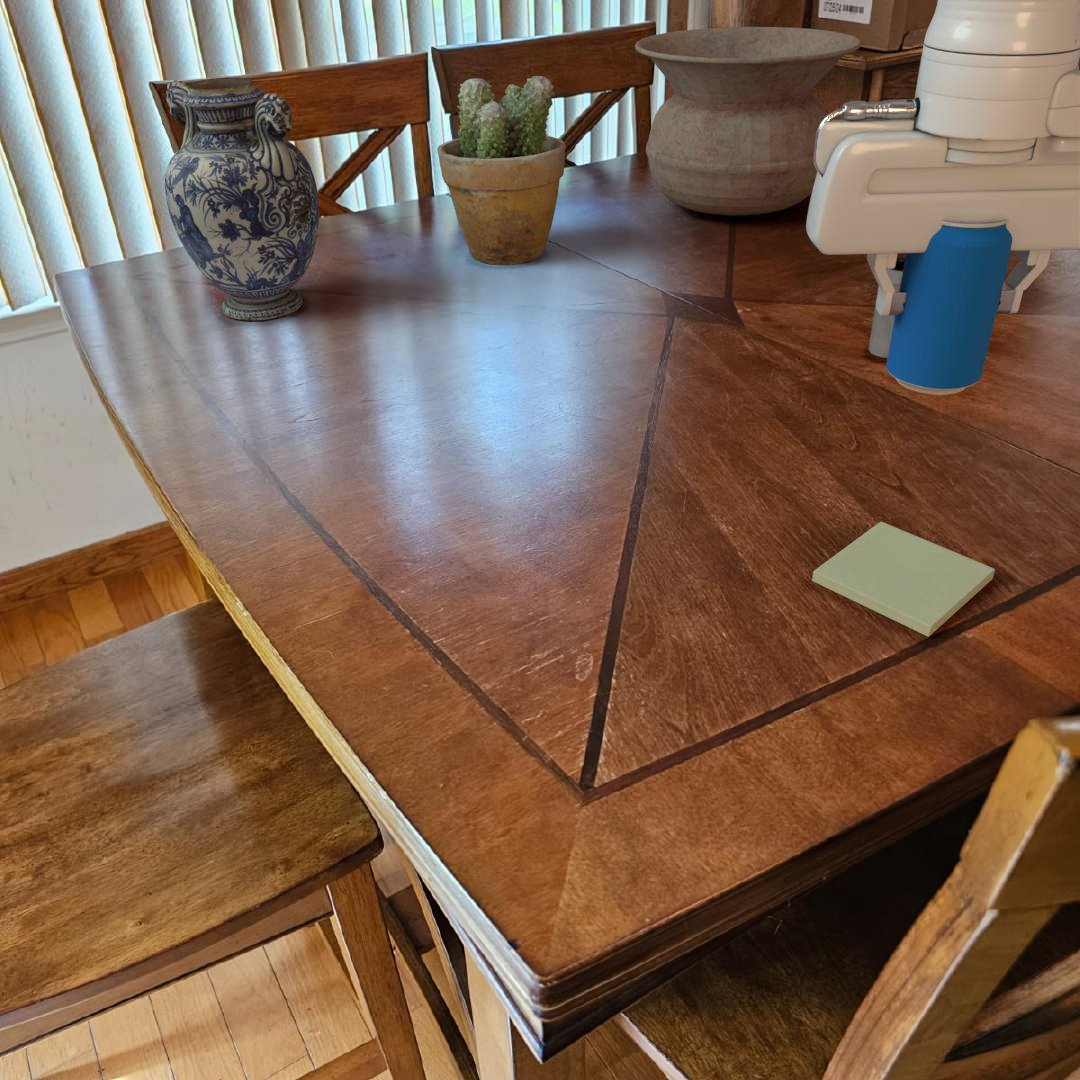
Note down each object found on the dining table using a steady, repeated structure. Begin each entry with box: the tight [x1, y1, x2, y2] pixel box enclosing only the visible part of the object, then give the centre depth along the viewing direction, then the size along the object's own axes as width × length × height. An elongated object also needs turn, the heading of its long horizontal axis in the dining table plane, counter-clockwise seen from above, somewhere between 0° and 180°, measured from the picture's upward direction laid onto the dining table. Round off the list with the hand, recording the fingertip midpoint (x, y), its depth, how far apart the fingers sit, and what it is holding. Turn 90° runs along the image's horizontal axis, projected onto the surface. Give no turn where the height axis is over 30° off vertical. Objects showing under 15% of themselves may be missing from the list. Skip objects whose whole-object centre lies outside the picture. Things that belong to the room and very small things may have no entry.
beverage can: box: [885, 219, 1012, 396], centre depth 68 cm, size 6×6×12 cm
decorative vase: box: [164, 77, 320, 322], centre depth 126 cm, size 21×19×28 cm
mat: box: [811, 521, 996, 638], centre depth 78 cm, size 10×10×1 cm
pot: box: [634, 26, 862, 216], centre depth 158 cm, size 34×34×25 cm
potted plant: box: [436, 75, 567, 266], centre depth 142 cm, size 18×19×25 cm
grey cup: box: [868, 257, 905, 359], centre depth 112 cm, size 4×4×10 cm
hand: (945, 311), depth 68 cm, fingers closed on beverage can, 6 cm apart
